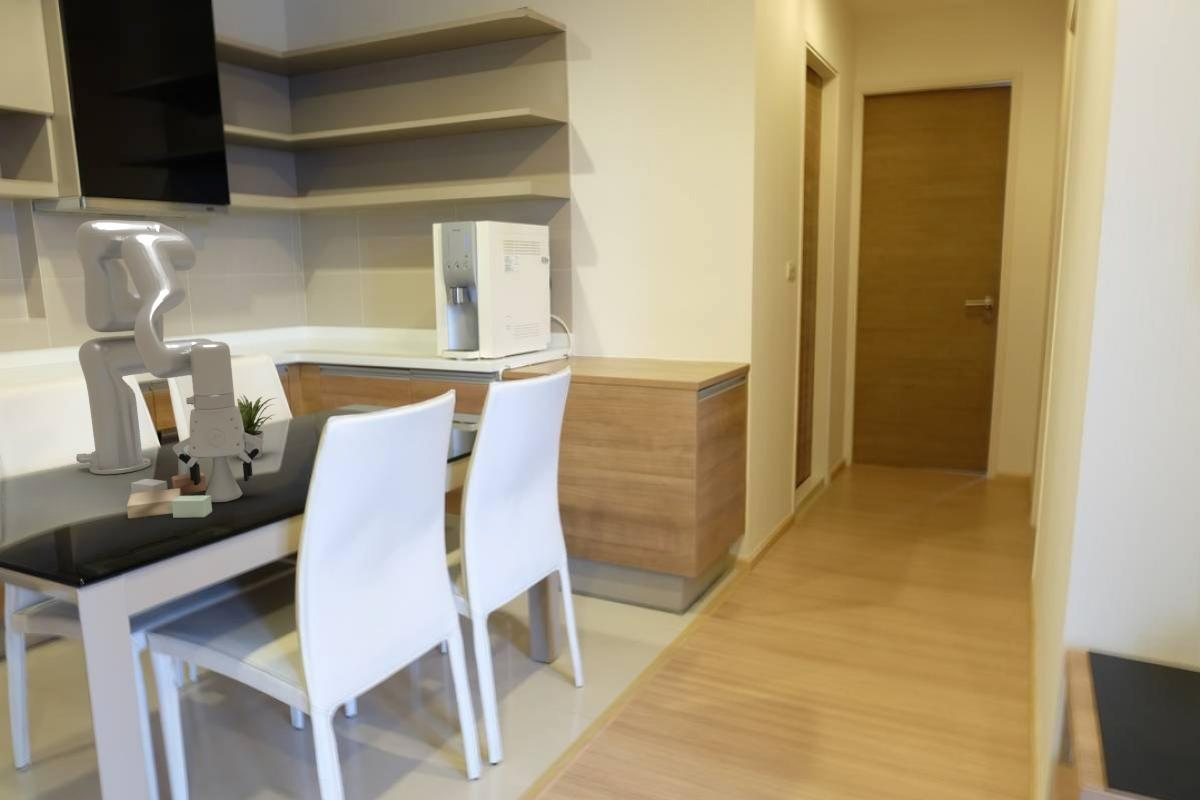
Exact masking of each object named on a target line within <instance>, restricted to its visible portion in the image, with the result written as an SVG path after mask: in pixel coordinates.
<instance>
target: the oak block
mask: <svg viewBox="0 0 1200 800" xmlns="http://www.w3.org/2000/svg"><path fill="white" fill-rule="evenodd" d="M179 496H182V494H181V491H180V488H176V489H173V488H169V489H168V490H159V491H150V492H142V493H133V494H132V493H130V495H129V498H128V501H127V504H126V511H127V519H137V518H145V517H152V516H162V515H169V514H173V510H172V501H173V500H174V499H176V498H178V497H179Z"/></svg>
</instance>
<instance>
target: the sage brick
mask: <svg viewBox="0 0 1200 800" xmlns="http://www.w3.org/2000/svg"><path fill="white" fill-rule="evenodd" d="M172 510H173V513H172V516H173V517H172V518H173V519H174V518H178V519H179V518H182V519H183V518H184V519H185V518H205V517H207V516H208V515H210V514H211V513H212V512H213V506H212V502H211V495H206V496H205V495H181V496H179V497H178V498H176V499H174V500H173V501H172Z"/></svg>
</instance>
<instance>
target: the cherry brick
mask: <svg viewBox="0 0 1200 800" xmlns="http://www.w3.org/2000/svg"><path fill="white" fill-rule="evenodd" d="M200 478H201V482H200V483H199V484H198V485H195V486H194V481H191V478H190V473H185V474H178V475H172V476H171V482H172V483H171V484H172V485H171V486H172V489H176V488H180V491H181V495H184V494H185V495H186V494H191V493H197V492H203V491H205V492H206V490H207V482H206V475H205V474H204V472H202V471H200Z"/></svg>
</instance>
